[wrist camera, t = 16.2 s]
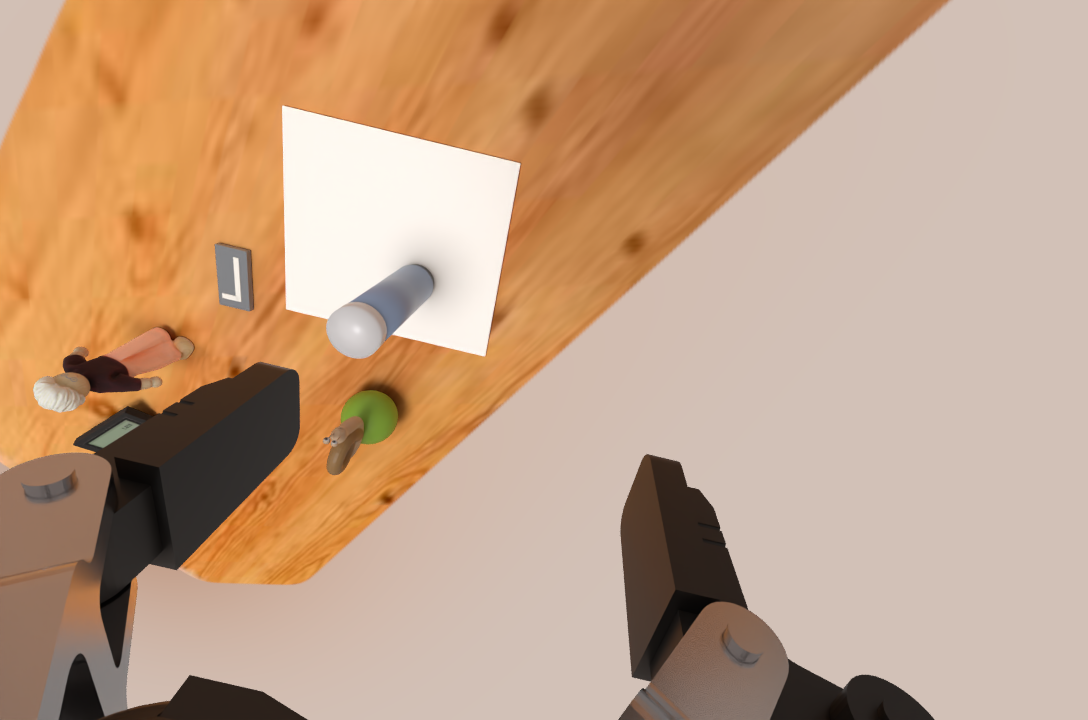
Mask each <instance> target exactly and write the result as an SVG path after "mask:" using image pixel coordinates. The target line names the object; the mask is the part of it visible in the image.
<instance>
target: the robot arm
mask: <svg viewBox="0 0 1088 720" xmlns="http://www.w3.org/2000/svg"><path fill="white" fill-rule="evenodd" d="M299 429H300V399H299V375H298V373H297V372H296V371H295V370H293V369H288V368H284V367H280V366H276V365H271V364H267V363H263V362H258V363H256V364H254V365H252V366H251V367H249V368H248V369H246V370H245V371H243V372H242V373H240V374H239V375H237V376H236V377H234V378H233V379H232V378H226V379H223V380H220V381H217V382H214V383H211V384H207V385H204V386H201V387H200V388H198V389H197V390H195V391H193V392H192V393H190V394H189V395H187V396H185V397H184V398H182V399H181V401H180V402H179V403H178V402H176V403H174V404H173V405H171V406H169V407H168V408H166V409H165V410H163V413H162V414H159V413H158V414H157V415H155V416H153V417H152V418H150V419H149V420H147V421H145V422H144V423H142V424H141V425H139V426H137V427H136V428H134V429H133V430H131V431H130V432H128V433H126V434H125V435H123V436H122V437H120V438H118V439H117V440H115V441H114V442H112V443H110V444H109V445H107V446H106V447H104V448H102V449H101V450H99V451H98V452H96V453H94V454H88V453H63V454H56V455H50V456H45V457H41V458H37V459H34V460H31V461H28V462H25V463H23V464H20V465H17V466H15V467H13V468H11V469H9V470H7V471H5V472H4V473H2V474H0V720H307V719H306V718H304V717H302V716H300V715H299V714H298V713H296V712H294V711H293V710H291V709H290V708H288V707H286V706H285V705H283V704H281V703H280V702H278V701H277V700H275V699H274V698H272V697H270V696H269V695H267V694H265V693H264V692H261V691H257V690H253V689H248V688H244V687H239V686H235V685H231V684H226V683H222V682H217V681H213V680H209V679H204V678H200V677H195V676H191V675H189V677H188V678H187V680H186V681H185V682H184V684H183V685H182V686H181V687H180V689H179V690H178V691H177V693H176V694H175V695H174V697H173V698H172V699H171V701H165V702H159V703H153V704H148V705H142V706H138V707H134V708H130V709H127V698H126V685H127V673H128V665H129V655H130V647H131V639H132V631H133V623H134V622H133V621H134V614H135V605H136V597H137V589H138V587H137V579H136V576H137V575H138V574H139V573H140V572H141V571H142V570H143V569H144V568H145V567H146V566H147V565H148V564H152V565H157V566H161V567H165V568H170V569H174V570H177V569H178V568H179V567H180V566H181V565H182V564H183V563H184V562H185V561H186V560H187V559H188V558H189V557H190V556H191V555H192V554H193V553H194V552H195V551H196V550H197V549H198V547H199V546H200V545H201V544H202V543H203V542H204V541H205V540H206V539H207V538H208V537H209V536H210V535H211V534H212V533H213V532H214V531H215V530H216V529H217V528H218V527H219V526H220V525H221V524H222V523H223V522H224V521H225V520H226V519H227V518H228V517H229V515H230V514H231V513H232V512H233V511H234V510H235V509H236V508H237V507H238V506H239V505H240V504H241V503H242V502H243V501H244V500H245V499H246V498H247V497H248V496H249V495H250V494H251V493H252V492H253V491H254V490H255V489H256V488H257V487H258V486H259V485H260V483H261V482H262V481H263V480H264V479H265V478H266V477H267V476H268V475H269V474H270V473H271V472H272V471H273V470H274V469H275V468H276V467H277V466H278V465H279V464H280V463H281V462H282V461H283V460H284V459H285V458H286V457H287V456H288V454H289V453H290V452H291V451H292V449H293V447H294V445H295V443H296V441H297V438H298V435H299ZM621 544H622V557H623V570H624V583H625V596H626V607H627V620H628V633H629V646H630V659H631V671H632V677H634V678H638V679H642V680H647V681H651V683H650V684H649V685H648V687H647V688H646V689H644V688H643V689H641V690H640V692H639V693H638V694H637V695H636V696H635V698H634V699H633V700H632V702H631V703H630V704H629V706H628V707H627V708H626V710H625V711H624V713H623V714H622V715H621V717H620V718H619V720H934V719H933V717H932V716H931V715H930V714H929V713H928V712H927V711H926V710H925V709H924V708H923V707H922V706H921V705H920V704H919V703H918V702H917V701H916V700H915V699H914V698H912V697H911V696H910V695H908V694H907V693H906V692H904V691H903V690H902V689H900V688H899V687H897V686H895V685H894V684H892V683H890V682H888V681H886V680H884V679H881V678H879V677H876V676H871V675H859V676H856V677H854V678H852V679H851V680H850V681H849V683H848V684H847V685H846V686H845V687H844V689H842V688H840V687H838V686H836V685H835V684H833V683H831V682H829V681H827V680H825V679H823V678H821V677H820V676H818V675H815V674H814V673H812V672H810V671H808V670H806V669H804V668H802V667H801V666H799V665H797V664H795V663H794V662H792V661H791V660H789V659H788V658H787V655H786V652H785V649H784V647H783V645H782V643H781V642H780V640H779V639H778V637H777V636H776V634H775V633H774V632H773V631H772V629H771V628H770V627H769V626H768V625H767V624H766V623H765V622H764V621H763V620H761V619H760V618H759V617H758V616H757V615H755V614H754V613H752V612H751V611H749V610H748V608H747V605H746V602H745V599H744V596H743V593H742V590H741V587H740V584H739V581H738V578H737V575H736V572H735V569H734V566H733V564H732V560H731V558H730V555H729V552H728V549H727V548H725V545H726V543H725V540H724V537H723V534H722V531H720V525H719V522H718V519H717V516H716V513H715V511H714V508H713V507H712V505H711V504H710V503H709V502H708V500H707V499H706V498H705V497H704V495H703V494H702V493H701V491H700V490H699V489H695V488H690V487H687V483H686V480H685V477H684V473H683V469H682V466H681V464H680V462H677V461H673V460H669V459H665V458H661V457H657V456H652V455H648V454H647V455H645V456H644V458H643V459H642V462H641V465H640V467H639V469H638V472H637V474H636V477H635V480H634V482H633V485H632V487H631V490H630V493H629V495H628V498H627V500H626V503H625V506H624V509H623V514H622V519H621Z"/></svg>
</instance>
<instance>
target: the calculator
mask: <svg viewBox="0 0 1088 720" xmlns="http://www.w3.org/2000/svg"><path fill="white" fill-rule="evenodd" d="M152 417H153V416H151V415H148V414H146V413H143V412H141V411H138V410H136V409H133V408H131V407H128V406H127V407H126V408H124V409H122V410H121V411H119V412H118V413H116V414H115V415H113V416H111V417H110V418H108V419H107V420H105V421H103V422H102V423H100V424H99V425H97V426H95V427H94V428H92V429H91V430H89V431H87V432H86V433H84V434H83V435H81V436H80V437H78V438H76V440H75V442H74V444H73V445H75V446H78V447H81V448H84V449H88V450H91V451H94V452H98V451H99V450H101V449H102V448H104V447H106V446H107V445H109V444H110V443H112V442H114V441H115V440H117V439H118V438H120V437H122V436H123V435H125V434H126V433H128V432H130V431H131V430H133V429H134V428H136V427H137V426H139V425H141V424H142V423H144V422H145V421H147V420H149V419H150V418H152Z"/></svg>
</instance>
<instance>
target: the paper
mask: <svg viewBox="0 0 1088 720" xmlns="http://www.w3.org/2000/svg"><path fill="white" fill-rule="evenodd" d="M282 119H283V170H284V221H285V273H286V309H287V310H292V311H296V312H300V313H304V314H308V315H313V316H317V317H321V318H325V319H328V318H329V317H330V315H331V314H332V313H333V312H334V311H336V310H337V309H339V308H340V307H342V306H343V305H345V304H347V303H349V302H351V301H352V300H354V299H355V298H357V297H358V296H360V295H361V294H363V293H364V292H366V291H367V290H369V289H370V288H372V287H373V286H375V285H376V284H378V283H379V282H381V281H382V280H383V279H385V278H386V277H388V276H389V275H391V274H392V273H394V272H395V271H397V270H398V269H400V268H401V267H403V266H406V265H412V264H418V265H422V266H424V267H425V268H427V269H428V270H429V271H430V272H431V274H432V276H433V278H434V288H433V292H432V294H431V296H430V297H429V298H428V299H427V300H426V301H425V302H424V303H423V304H422V305H421V306H420V307H419V308H418V309H417V310H416V311H415V312H414V313H413V314H412V315H411V316H410V317H409V318H408V319H407V320H406V321H405V322H404V323H403V324H402V325H401V326H400V327H399V328H398V329H397V330H396V331H395V332H394V333H393V335H397V336H401V337H405V338H409V339H414V340H418V341H422V342H426V343H430V344H435V345H439V346H443V347H447V348H451V349H456V350H460V351H464V352H468V353H472V354H477V355H481V356H486V351H487V345H488V340H489V334H490V329H491V323H492V318H493V312H494V307H495V301H496V296H497V291H498V285H499V280H500V274H501V269H502V263H503V258H504V252H505V247H506V241H507V236H508V230H509V225H510V220H511V214H512V209H513V203H514V198H515V192H516V187H517V181H518V176H519V170H520V165H521V163H518V162H513V161H509V160H505V159H501V158H497V157H493V156H489V155H485V154H481V153H476V152H472V151H468V150H464V149H460V148H456V147H452V146H448V145H444V144H439V143H435V142H431V141H427V140H423V139H419V138H415V137H411V136H407V135H402V134H398V133H394V132H390V131H386V130H382V129H378V128H374V127H370V126H365V125H361V124H357V123H353V122H349V121H345V120H341V119H337V118H333V117H328V116H324V115H320V114H316V113H312V112H308V111H304V110H300V109H296V108H291V107H287V106H282Z"/></svg>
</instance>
